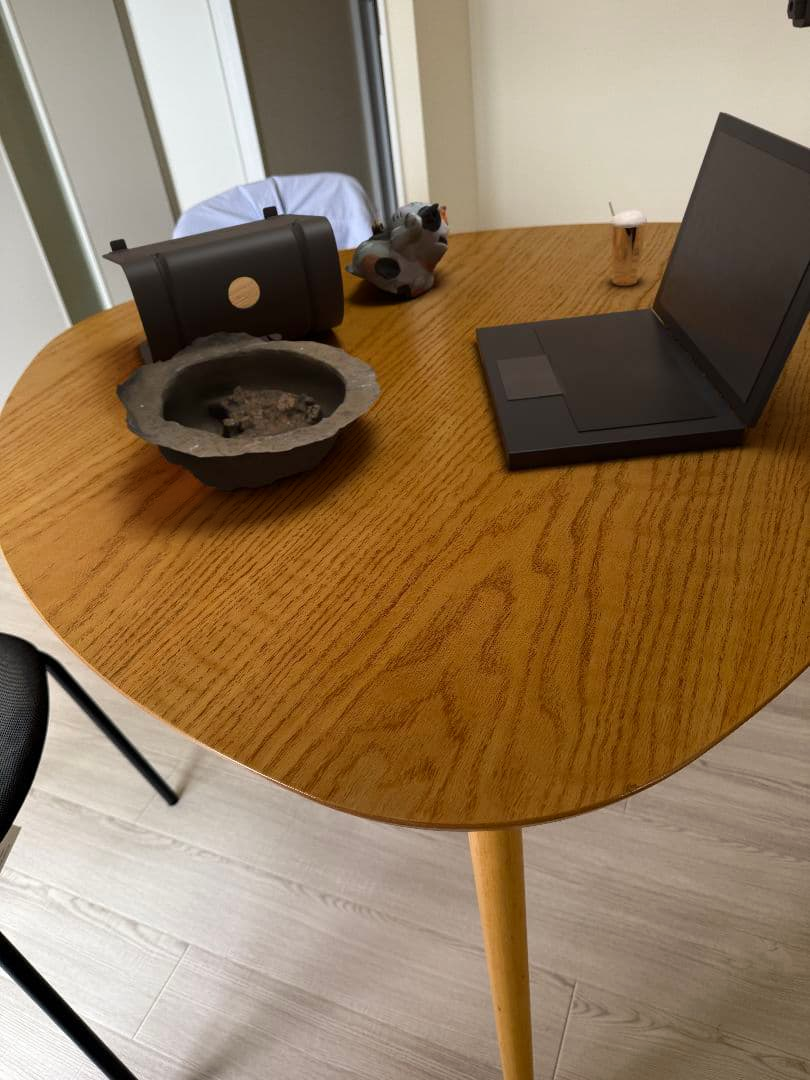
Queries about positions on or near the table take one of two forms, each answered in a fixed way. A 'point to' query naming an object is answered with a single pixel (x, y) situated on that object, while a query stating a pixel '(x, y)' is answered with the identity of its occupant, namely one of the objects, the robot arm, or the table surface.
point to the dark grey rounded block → (215, 262)
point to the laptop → (599, 391)
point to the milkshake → (627, 245)
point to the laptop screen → (742, 263)
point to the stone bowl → (247, 406)
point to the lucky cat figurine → (404, 249)
